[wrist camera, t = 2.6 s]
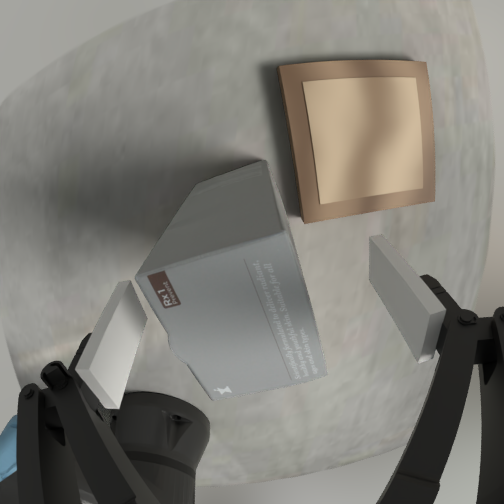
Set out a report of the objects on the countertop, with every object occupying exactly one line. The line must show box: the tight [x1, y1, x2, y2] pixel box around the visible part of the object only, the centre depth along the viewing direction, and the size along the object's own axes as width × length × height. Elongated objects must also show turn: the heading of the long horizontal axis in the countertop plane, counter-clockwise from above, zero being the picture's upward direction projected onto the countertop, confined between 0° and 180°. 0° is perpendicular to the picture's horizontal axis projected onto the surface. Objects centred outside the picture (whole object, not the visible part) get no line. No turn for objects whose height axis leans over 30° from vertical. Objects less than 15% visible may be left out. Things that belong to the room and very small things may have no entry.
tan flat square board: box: [277, 60, 435, 224], centre depth 23 cm, size 13×13×2 cm
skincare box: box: [135, 160, 328, 400], centre depth 20 cm, size 8×7×16 cm
